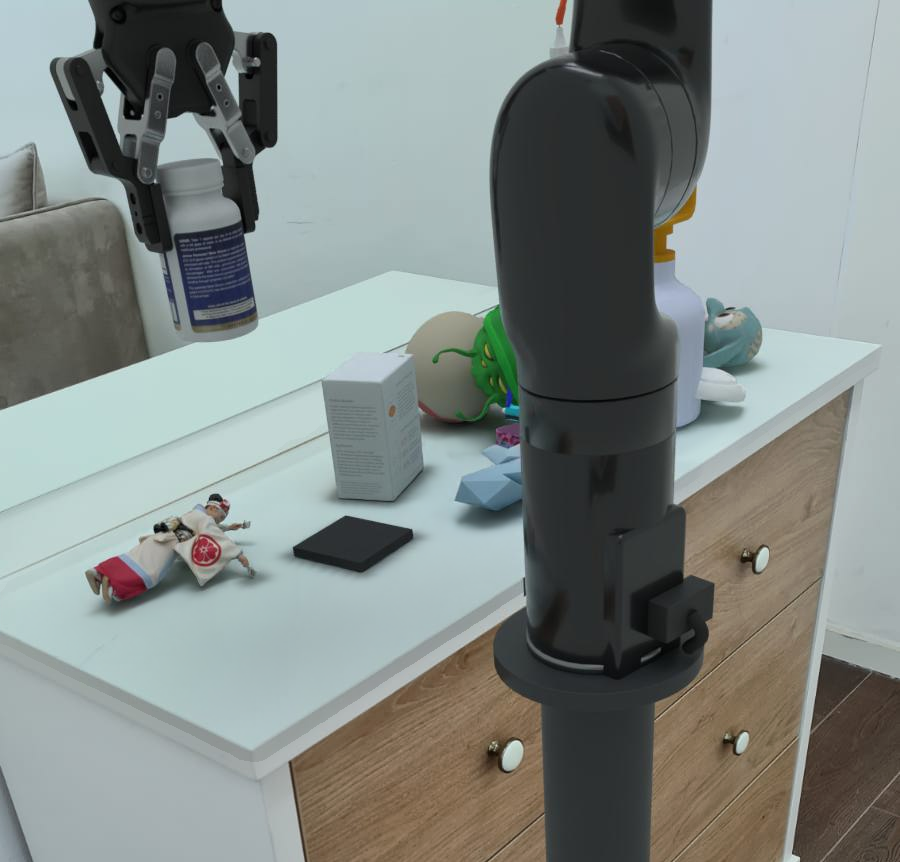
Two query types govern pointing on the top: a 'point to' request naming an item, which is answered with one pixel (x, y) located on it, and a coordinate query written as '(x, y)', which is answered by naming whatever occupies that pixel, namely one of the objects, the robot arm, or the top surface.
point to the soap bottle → (681, 315)
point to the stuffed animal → (730, 335)
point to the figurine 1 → (172, 552)
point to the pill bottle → (205, 255)
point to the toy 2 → (447, 367)
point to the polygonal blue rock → (494, 480)
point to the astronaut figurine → (719, 386)
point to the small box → (374, 425)
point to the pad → (353, 543)
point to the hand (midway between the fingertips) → (202, 240)
